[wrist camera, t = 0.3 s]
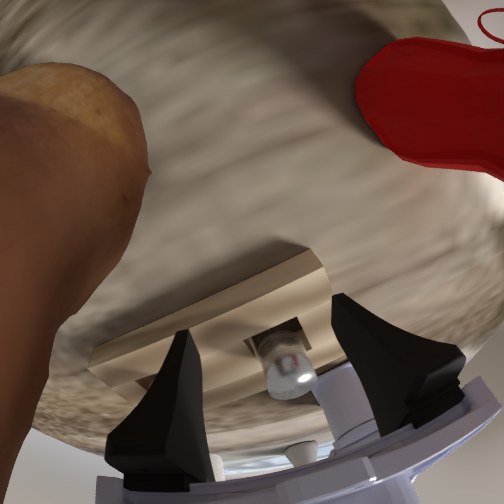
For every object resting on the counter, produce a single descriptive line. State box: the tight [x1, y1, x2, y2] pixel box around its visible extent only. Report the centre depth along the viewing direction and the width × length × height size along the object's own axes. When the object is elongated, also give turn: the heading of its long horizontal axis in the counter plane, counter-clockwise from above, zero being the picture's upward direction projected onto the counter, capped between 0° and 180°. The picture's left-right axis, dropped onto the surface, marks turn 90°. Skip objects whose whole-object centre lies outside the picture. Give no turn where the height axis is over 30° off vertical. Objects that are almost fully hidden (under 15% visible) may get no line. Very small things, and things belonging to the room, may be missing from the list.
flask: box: [283, 441, 318, 467], centre depth 41 cm, size 7×7×10 cm
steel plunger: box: [258, 331, 318, 400], centre depth 22 cm, size 4×4×4 cm
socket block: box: [88, 249, 345, 411], centre depth 26 cm, size 12×24×3 cm, turn 114°
